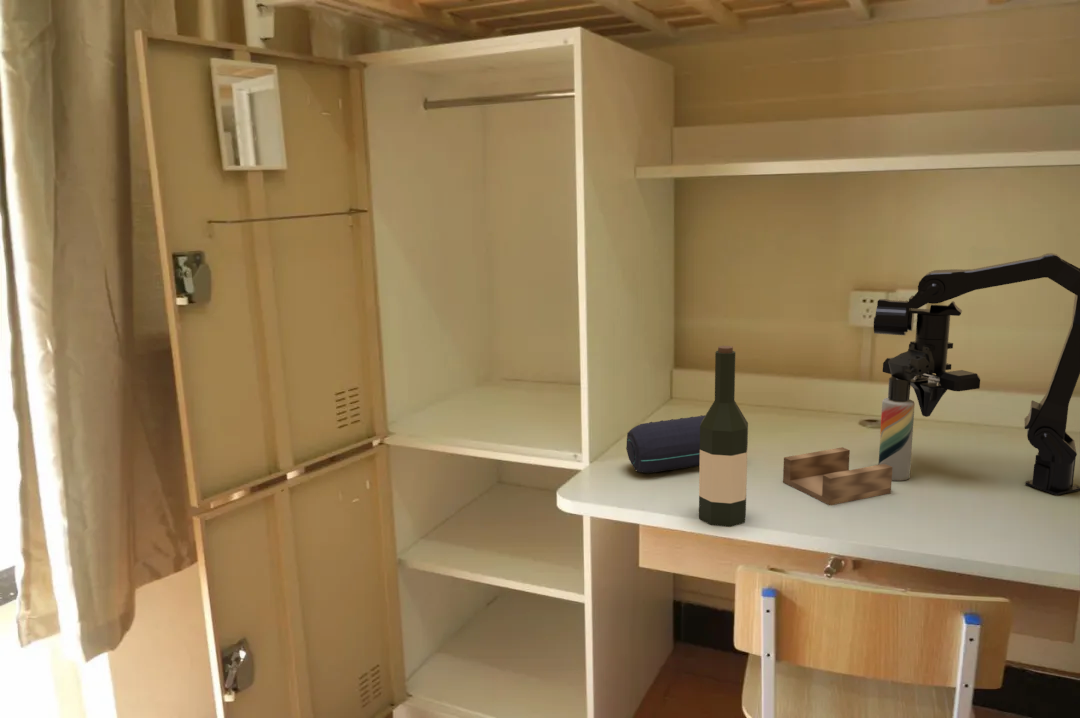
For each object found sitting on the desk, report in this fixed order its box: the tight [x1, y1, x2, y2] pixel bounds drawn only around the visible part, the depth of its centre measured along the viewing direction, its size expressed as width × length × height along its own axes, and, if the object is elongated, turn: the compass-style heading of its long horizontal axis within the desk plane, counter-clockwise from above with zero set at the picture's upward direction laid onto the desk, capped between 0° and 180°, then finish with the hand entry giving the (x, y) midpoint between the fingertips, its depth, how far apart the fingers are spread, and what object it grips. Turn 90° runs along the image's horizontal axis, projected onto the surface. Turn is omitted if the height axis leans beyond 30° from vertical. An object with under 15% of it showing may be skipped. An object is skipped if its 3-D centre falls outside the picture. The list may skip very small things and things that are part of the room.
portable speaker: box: [625, 414, 706, 474], centre depth 169 cm, size 25×10×10 cm, turn 109°
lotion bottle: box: [878, 374, 916, 482], centre depth 158 cm, size 6×6×20 cm
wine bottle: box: [698, 345, 749, 528], centre depth 140 cm, size 8×8×30 cm
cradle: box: [782, 446, 893, 506], centre depth 155 cm, size 14×13×5 cm
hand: (925, 416), depth 161 cm, fingers closed
